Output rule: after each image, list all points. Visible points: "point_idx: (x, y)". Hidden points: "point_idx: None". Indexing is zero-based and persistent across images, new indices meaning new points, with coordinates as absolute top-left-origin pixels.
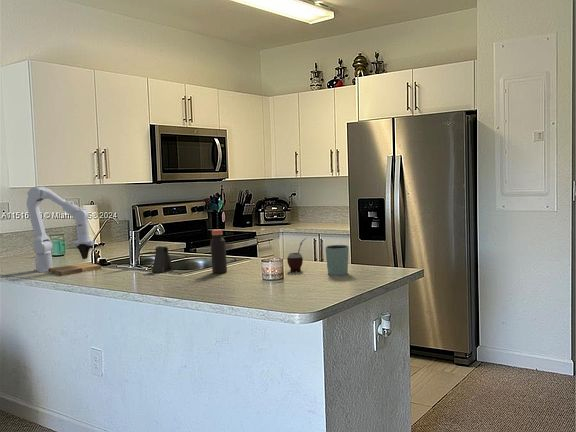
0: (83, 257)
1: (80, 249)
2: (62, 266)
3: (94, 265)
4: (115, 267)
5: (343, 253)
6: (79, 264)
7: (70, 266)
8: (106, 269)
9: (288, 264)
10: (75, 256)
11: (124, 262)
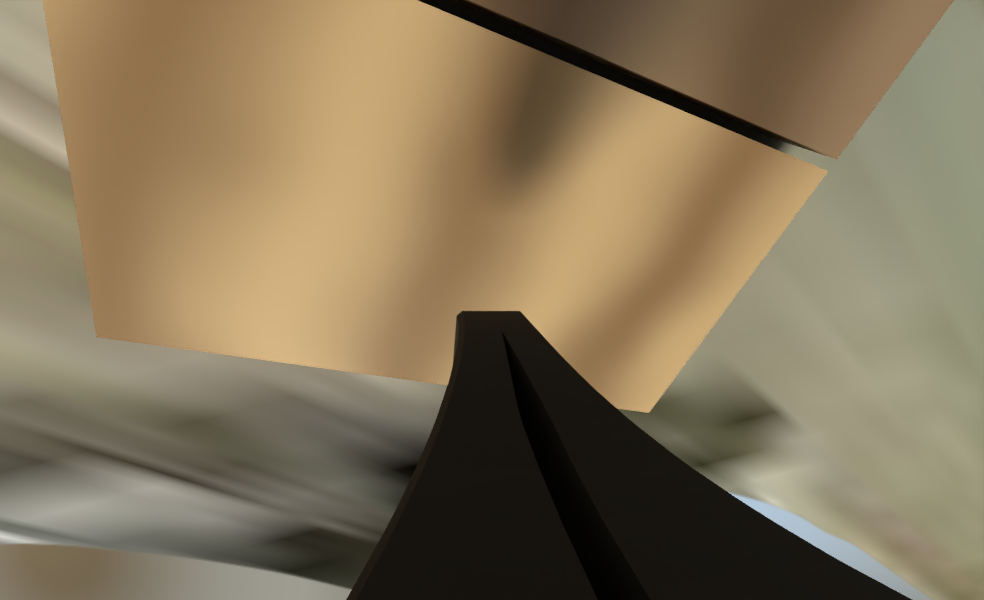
0: (469, 327)
1: (610, 536)
2: (895, 17)
3: (245, 300)
4: (96, 440)
5: None
6: (646, 285)
7: (693, 64)
8: (15, 311)
9: None
10: (976, 542)
11: (356, 581)
